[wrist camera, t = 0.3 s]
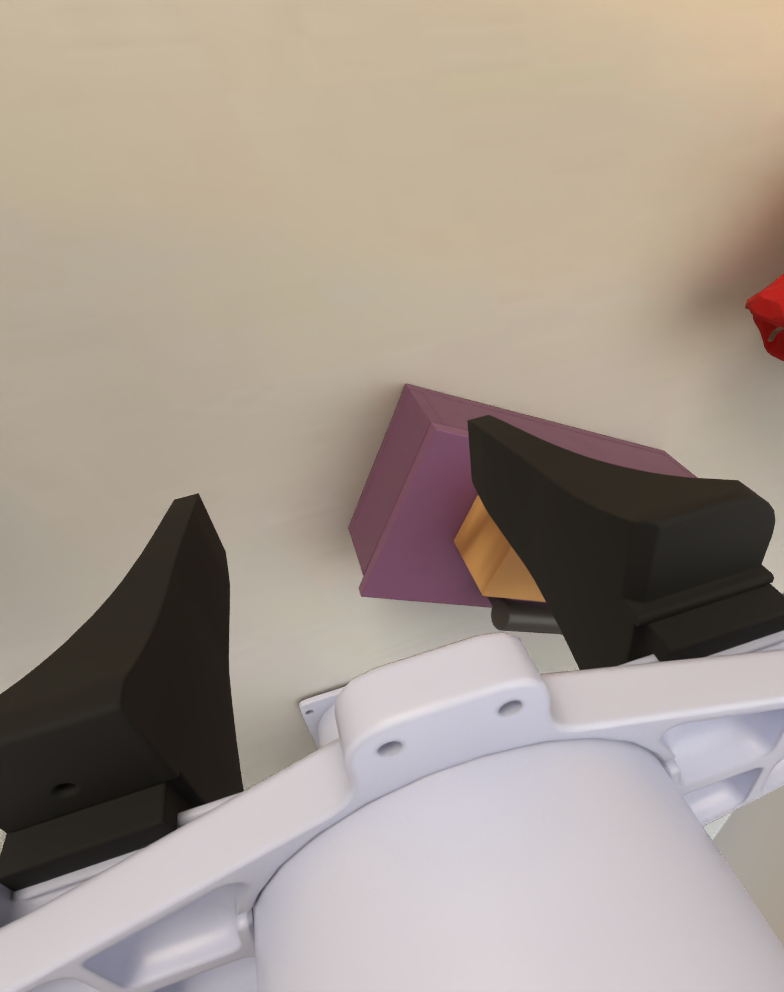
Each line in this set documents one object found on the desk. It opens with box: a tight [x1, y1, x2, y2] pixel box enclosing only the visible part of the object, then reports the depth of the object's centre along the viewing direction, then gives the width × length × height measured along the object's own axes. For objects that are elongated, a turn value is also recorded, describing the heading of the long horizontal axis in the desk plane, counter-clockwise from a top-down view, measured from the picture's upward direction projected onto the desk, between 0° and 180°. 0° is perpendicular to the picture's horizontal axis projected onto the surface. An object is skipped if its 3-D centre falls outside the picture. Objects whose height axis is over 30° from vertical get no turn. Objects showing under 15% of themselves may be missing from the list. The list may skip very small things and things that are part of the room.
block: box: [454, 495, 546, 602], centre depth 24 cm, size 4×5×4 cm
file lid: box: [359, 423, 562, 634], centre depth 26 cm, size 9×16×4 cm, turn 68°
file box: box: [348, 384, 697, 575], centre depth 28 cm, size 8×16×4 cm, turn 68°
